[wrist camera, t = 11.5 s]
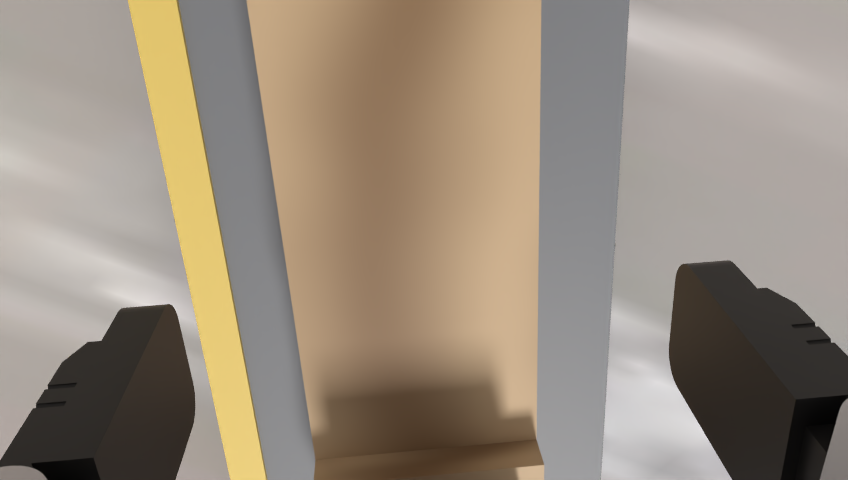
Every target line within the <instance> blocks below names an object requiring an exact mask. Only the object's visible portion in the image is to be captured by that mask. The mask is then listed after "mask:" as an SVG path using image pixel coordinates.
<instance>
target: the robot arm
mask: <svg viewBox="0 0 848 480" xmlns="http://www.w3.org/2000/svg"><path fill="white" fill-rule="evenodd" d="M669 359H670V366H671V371H672V375H673V378H674V381H675V383H676V385H677V387H678V389H679V391H680V392H681V394H682V396H683V397H684V399H685V401H686V402H687V404H688V406H689V408H690V409H691V411H692V413H693V414H694V416H695V418H696V419H697V421H698V423H699V424H700V426H701V428H702V429H703V431H704V433H705V435H706V436H707V438H708V440H709V441H710V443H711V445H712V446H713V448H714V450H715V451H716V453H717V455H718V456H719V458H720V460H721V462H722V463H723V465H724V467H725V468H726V470H727V472H728V473H729V475H730V477H731V478H732V480H848V356H847V355H846V354H845V353H844V352H843V351H842V350H841V349H840V348H839V347H838V346H837V345H836V344H835V343H831V338H830V337H829V336H828V335H827V334H826V333H825V332H824V331H823V330H822V329H821V328H820V327H816V326H815V322H814V321H813V320H812V319H811V318H810V317H809V316H808V315H807V314H806V313H805V312H804V311H803V310H802V309H801V308H800V307H799V306H798V305H797V304H796V303H794V302H792V301H791V300H789V299H787V298H785V297H783V296H781V295H779V294H777V293H775V292H774V291H772V290H770V289H768V288H759V289H757V288H756V287H755V286H754V285H753V283H752V282H751V281H750V280H749V279H748V278H747V277H746V276H745V275H744V274H743V273H742V272H741V270H740V269H739V268H738V267H737V266H736V265H735V264H734V263H733V262H731V261H715V262H702V263H690V264H682V265H681V266H680V267H679V269H678V271H677V274H676V280H675V290H674V301H673V311H672V322H671V332H670V342H669ZM194 416H195V392H194V386H193V381H192V377H191V372H190V368H189V364H188V359H187V355H186V350H185V346H184V342H183V337H182V333H181V329H180V324H179V320H178V316H177V313H176V311H175V309H174V307H173V306H172V305H170V304H167V305H155V306H142V307H130V308H122V309H120V310H119V312H118V313H117V315H116V317H115V318H114V320H113V322H112V323H111V325H110V327H109V329H108V330H107V332H106V334H105V336H104V337H103V339H102V341H96V342H87V343H86V344H85V345H84V346H82V347H81V348H80V349H79V350H77V351H76V352H75V353H74V354H72V355H71V356H70V357H69V358H67V359H66V360H65V361H63V362H62V363H61V365H60V367H59V368H58V370H57V371H56V373H55V375H54V376H53V378H52V379H51V381H50V382H49V384H48V389H46V390H44V392H43V394H42V395H41V397H40V398H39V400H38V401H37V403H36V408H33V409H32V411H31V413H30V414H29V416H28V417H27V419H26V420H25V422H24V424H23V425H22V427H21V428H20V430H19V432H18V433H17V435H16V436H15V438H14V439H13V441H12V443H11V444H10V446H9V447H8V449H7V451H6V452H5V454H4V455H3V457H2V458H1V460H0V480H175V479H176V476H177V473H178V470H179V467H180V464H181V461H182V458H183V455H184V452H185V448H186V445H187V442H188V439H189V436H190V433H191V430H192V427H193V423H194Z"/></svg>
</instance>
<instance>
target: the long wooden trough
mask: <svg viewBox="0 0 848 480" xmlns="http://www.w3.org/2000/svg"><path fill="white" fill-rule="evenodd" d="M247 7H248V14H249V20H250V27H251V34H252V40H253V47H254V54H255V61H256V67H257V74H258V81H259V87H260V94H261V101H262V107H263V114H264V121H265V127H266V134H267V141H268V147H269V154H270V161H271V167H272V174H273V181H274V187H275V194H276V201H277V207H278V214H279V221H280V227H281V234H282V241H283V247H284V254H285V261H286V268H287V274H288V281H289V288H290V294H291V301H292V308H293V314H294V321H295V328H296V334H297V341H298V348H299V354H300V361H301V368H302V374H303V381H304V388H305V394H306V401H307V408H308V414H309V421H310V428H311V434H312V441H313V448H314V454H315V470H314V480H544V462H543V459H542V456H541V452H540V449H539V446H538V443H537V350H538V260H539V170H540V80H541V0H247Z"/></svg>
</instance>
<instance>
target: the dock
mask: <svg viewBox="0 0 848 480" xmlns="http://www.w3.org/2000/svg"><path fill="white" fill-rule="evenodd" d="M128 3H129V8H130V13H131V17H132V22H133V27H134V32H135V36H136V41H137V46H138V50H139V55H140V60H141V64H142V69H143V74H144V78H145V83H146V88H147V92H148V97H149V102H150V106H151V111H152V116H153V120H154V125H155V130H156V134H157V139H158V144H159V148H160V153H161V158H162V162H163V167H164V172H165V176H166V181H167V186H168V190H169V195H170V200H171V204H172V209H173V214H174V218H175V223H176V228H177V232H178V237H179V242H180V246H181V251H182V256H183V260H184V265H185V270H186V275H187V279H188V284H189V289H190V293H191V298H192V303H193V307H194V312H195V317H196V321H197V326H198V331H199V335H200V340H201V345H202V349H203V354H204V359H205V363H206V368H207V373H208V377H209V382H210V387H211V391H212V396H213V401H214V405H215V410H216V415H217V419H218V424H219V429H220V433H221V438H222V443H223V447H224V452H225V457H226V461H227V466H228V471H229V475H230V480H314V470H315V454H314V448H313V441H312V434H311V428H310V421H309V414H308V408H307V401H306V394H305V388H304V381H303V374H302V368H301V361H300V354H299V348H298V341H297V334H296V328H295V321H294V314H293V308H292V301H291V294H290V288H289V281H288V274H287V268H286V261H285V254H284V247H283V241H282V234H281V227H280V221H279V214H278V207H277V201H276V194H275V187H274V181H273V174H272V167H271V161H270V154H269V147H268V141H267V134H266V127H265V121H264V114H263V107H262V101H261V94H260V87H259V81H258V74H257V67H256V61H255V54H254V47H253V40H252V34H251V27H250V20H249V14H248V7H247V0H128ZM628 16H629V0H541V80H540V170H539V260H538V350H537V443H538V446H539V449H540V452H541V456H542V459H543V462H544V480H601V469H602V452H603V435H604V418H605V402H606V385H607V368H608V351H609V335H610V318H611V301H612V284H613V267H614V251H615V234H616V217H617V200H618V184H619V167H620V150H621V133H622V117H623V100H624V83H625V66H626V49H627V33H628Z"/></svg>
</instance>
